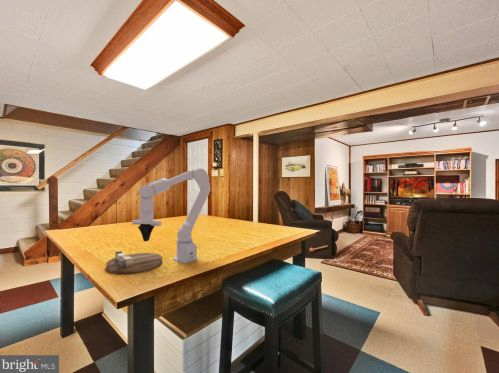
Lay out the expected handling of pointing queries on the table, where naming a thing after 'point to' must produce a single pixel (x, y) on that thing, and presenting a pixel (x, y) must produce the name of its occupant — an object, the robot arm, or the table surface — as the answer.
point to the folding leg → (128, 259)
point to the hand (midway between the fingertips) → (146, 240)
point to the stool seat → (134, 263)
